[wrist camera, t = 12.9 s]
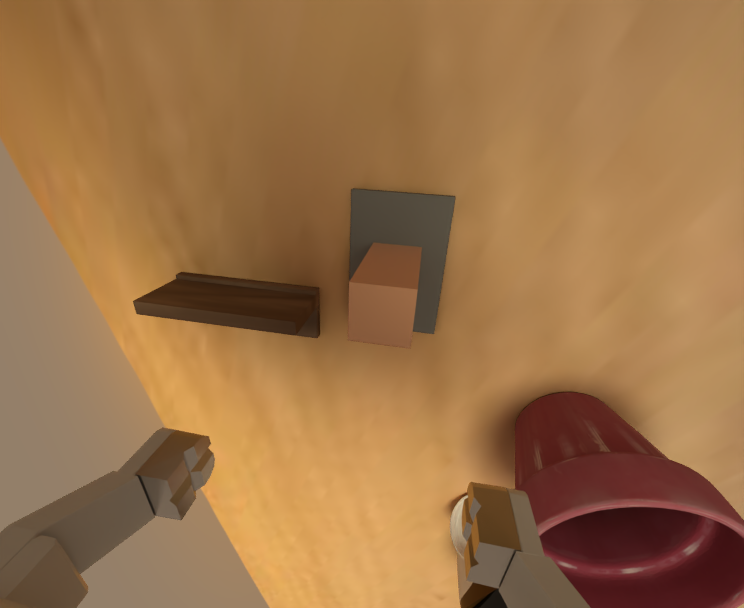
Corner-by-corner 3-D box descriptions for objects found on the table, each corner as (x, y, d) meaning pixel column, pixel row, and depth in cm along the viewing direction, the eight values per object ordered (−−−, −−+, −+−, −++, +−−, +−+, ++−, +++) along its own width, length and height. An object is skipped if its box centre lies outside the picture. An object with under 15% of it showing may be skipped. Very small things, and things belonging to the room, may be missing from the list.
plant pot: (669, 373, 29) (827, 524, 17) (623, 483, 35) (718, 648, 23) (497, 363, 31) (535, 489, 20) (481, 467, 37) (504, 610, 25)
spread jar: (496, 561, 44) (516, 690, 33) (422, 525, 43) (419, 645, 33) (560, 518, 38) (607, 656, 28) (476, 475, 38) (493, 600, 27)
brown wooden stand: (181, 272, 32) (131, 296, 27) (318, 287, 31) (295, 317, 25) (191, 316, 34) (146, 348, 29) (319, 334, 33) (298, 370, 27)
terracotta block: (373, 242, 27) (349, 281, 19) (421, 247, 27) (417, 289, 19) (371, 286, 29) (347, 340, 21) (416, 292, 28) (410, 348, 20)
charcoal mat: (353, 188, 26) (351, 189, 26) (454, 196, 25) (455, 197, 25) (349, 320, 31) (348, 323, 31) (434, 330, 30) (433, 334, 30)
